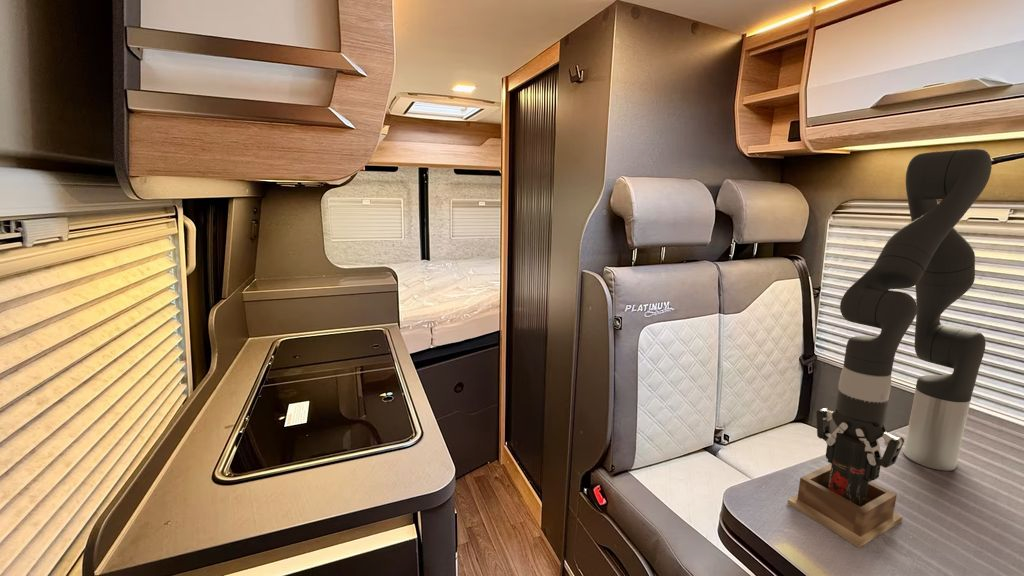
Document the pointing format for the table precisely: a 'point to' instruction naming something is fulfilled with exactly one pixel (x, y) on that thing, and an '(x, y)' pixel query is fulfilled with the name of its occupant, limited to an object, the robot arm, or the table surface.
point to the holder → (846, 508)
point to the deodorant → (849, 469)
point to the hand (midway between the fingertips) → (850, 470)
